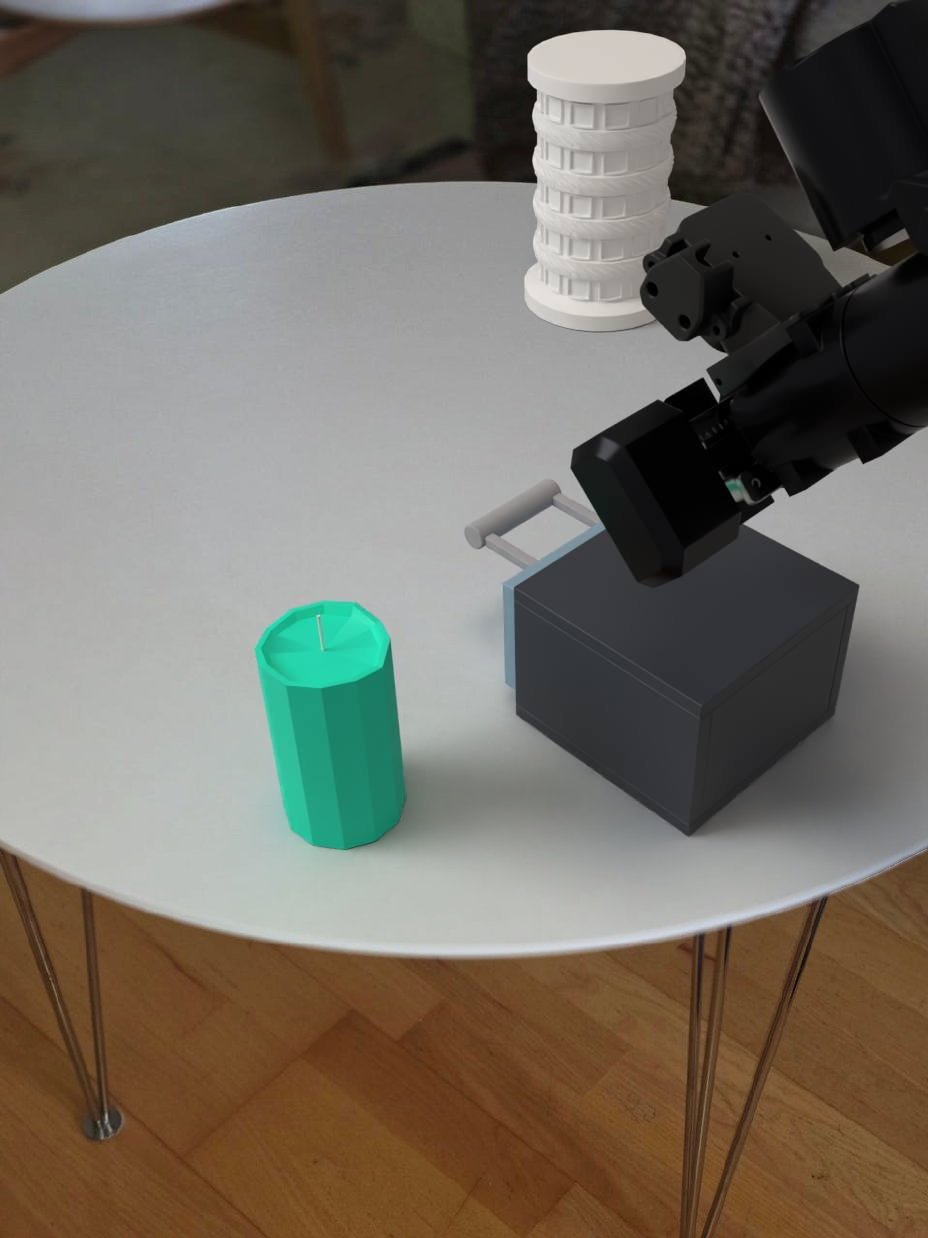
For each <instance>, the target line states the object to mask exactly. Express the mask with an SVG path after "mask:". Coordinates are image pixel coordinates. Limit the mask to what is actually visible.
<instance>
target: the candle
mask: <svg viewBox="0 0 928 1238" xmlns="http://www.w3.org/2000/svg"><path fill="white" fill-rule="evenodd" d="M253 650H254V654H255V659H256V665H257V670H258V671H257V672H258V676H259V682H260V686H261V692H262V698H263V702H264V708H265V713H266V714H265V715H266V719H267V724H268V729H269V730H268V731H269V735H270V740H271V745H272V750H273V756H274V761H275V766H276V772H277V778H278V783H279V787H280V793H281V799H282V804H283V808H284V811H285V814H286V815H285V816H286V819H287V821H288V824H289V828H290V830H291V831H292V832H294V833H295V834H296V835H298V836H300V837H301V838H302V839H304V840H305V841H306V842H308V843H309V844H310V845H312V846H315V847H323V848H331V849H338V850H348V849H353V848H356V847H358V846H363V845H366V844H369V843H372V842H377V841H378V840H379V839H380V838H382V837H383V836H385V834H386V833H387V832H389V830H391V829H392V828H393V827H394V826H396V825H397V823H399V822H400V818H401V816H402V813H403V809H404V807H405V803H406V800H407V792H406V781H405V771H404V762H403V751H402V740H401V732H400V731H401V730H400V721H399V711H398V710H399V709H398V699H397V690H396V679H395V669H394V660H393V659H394V658H393V651H392V650H393V649H392V640H391V636H390V635H389V633H388V631H387V629H386V627H385V625H384V624H383V621H382V620H381V619H379V618H378V617H377V616H375V615H374V614H373V613H371V612H370V611H369V610H368V609H367V608H366V607H364V606H363V605H362V604H360V603H359V602H357V601H351V600H349V601H348V600H331V599H330V600H327V599H323V600H319V601H315V602H312V603H311V602H310V603H308V604H303V605H300V606H296V607H292V608H289V609H288V610H287V611H286V612H285V613H283V614H282V615H281V616H279V617H278V618H277V619H275V620H274V621H273V622H272V623H270V624H269V625H268V626H266V627H265V628H264V630H263V632H262V634H261V636H260V638H259V640H258V641H257V643H256V645H255V647H254V649H253Z"/></svg>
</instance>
